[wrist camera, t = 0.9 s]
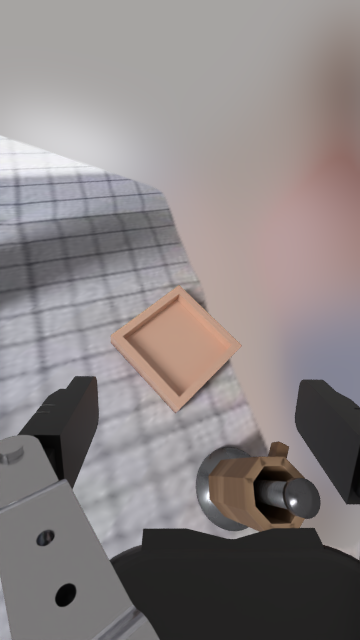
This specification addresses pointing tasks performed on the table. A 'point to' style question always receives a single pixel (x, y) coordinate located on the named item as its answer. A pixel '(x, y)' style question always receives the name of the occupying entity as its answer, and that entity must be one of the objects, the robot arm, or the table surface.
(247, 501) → the octagonal pencil holder
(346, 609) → the robot arm
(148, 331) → the tray
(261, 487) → the paper towel holder
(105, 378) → the table surface
